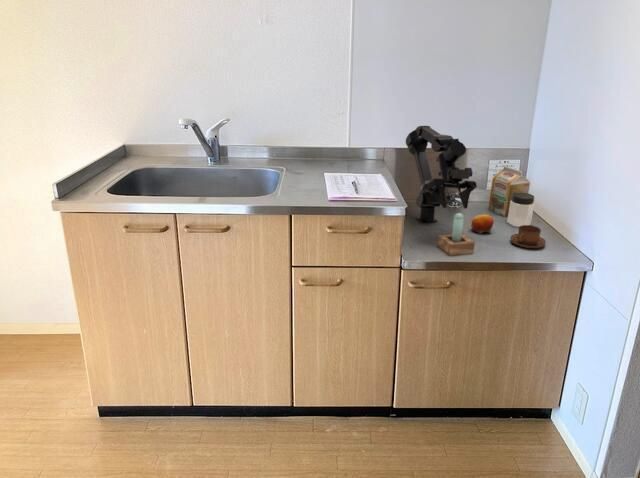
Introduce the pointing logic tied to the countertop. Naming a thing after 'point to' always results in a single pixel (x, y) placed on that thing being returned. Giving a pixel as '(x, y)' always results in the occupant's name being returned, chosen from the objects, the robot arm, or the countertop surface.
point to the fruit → (482, 223)
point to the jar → (521, 209)
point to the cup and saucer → (528, 237)
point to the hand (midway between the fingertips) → (455, 208)
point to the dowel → (457, 227)
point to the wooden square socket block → (456, 245)
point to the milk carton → (506, 189)
